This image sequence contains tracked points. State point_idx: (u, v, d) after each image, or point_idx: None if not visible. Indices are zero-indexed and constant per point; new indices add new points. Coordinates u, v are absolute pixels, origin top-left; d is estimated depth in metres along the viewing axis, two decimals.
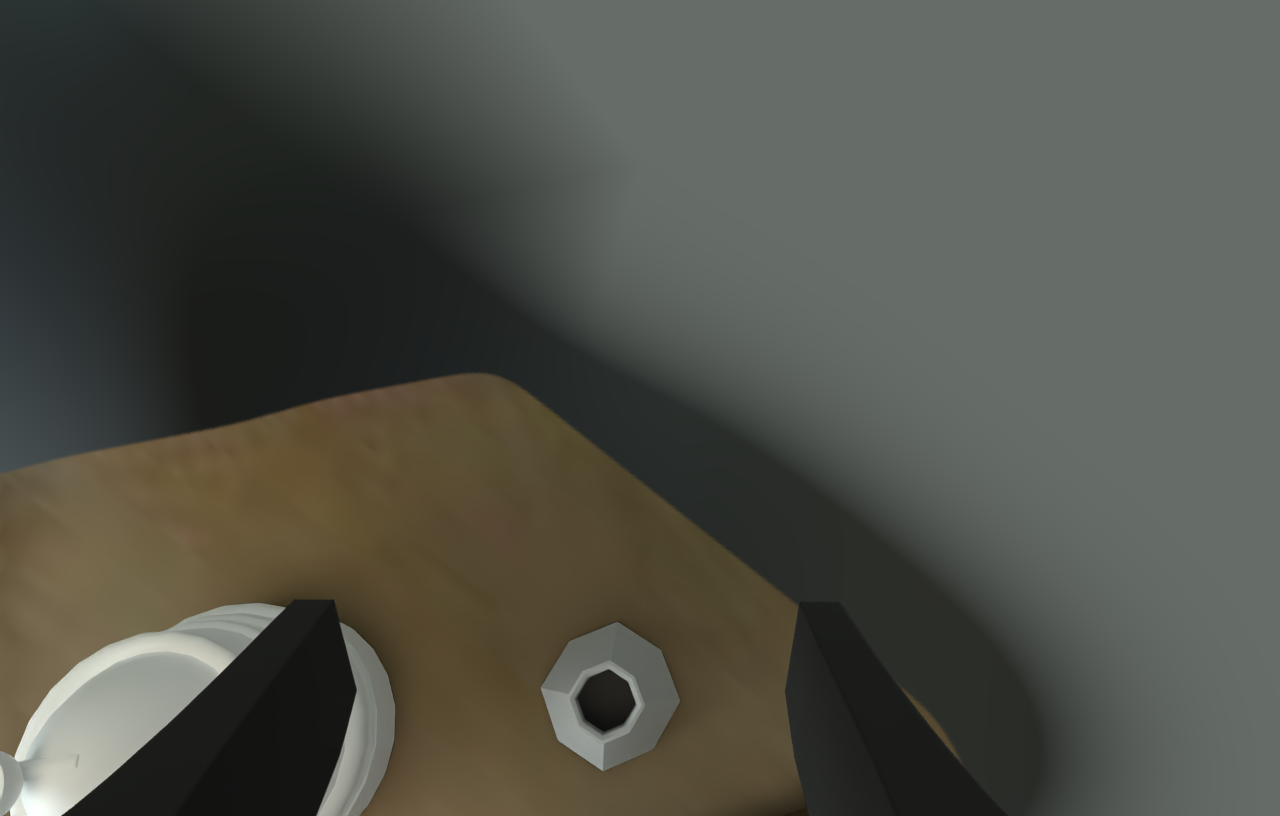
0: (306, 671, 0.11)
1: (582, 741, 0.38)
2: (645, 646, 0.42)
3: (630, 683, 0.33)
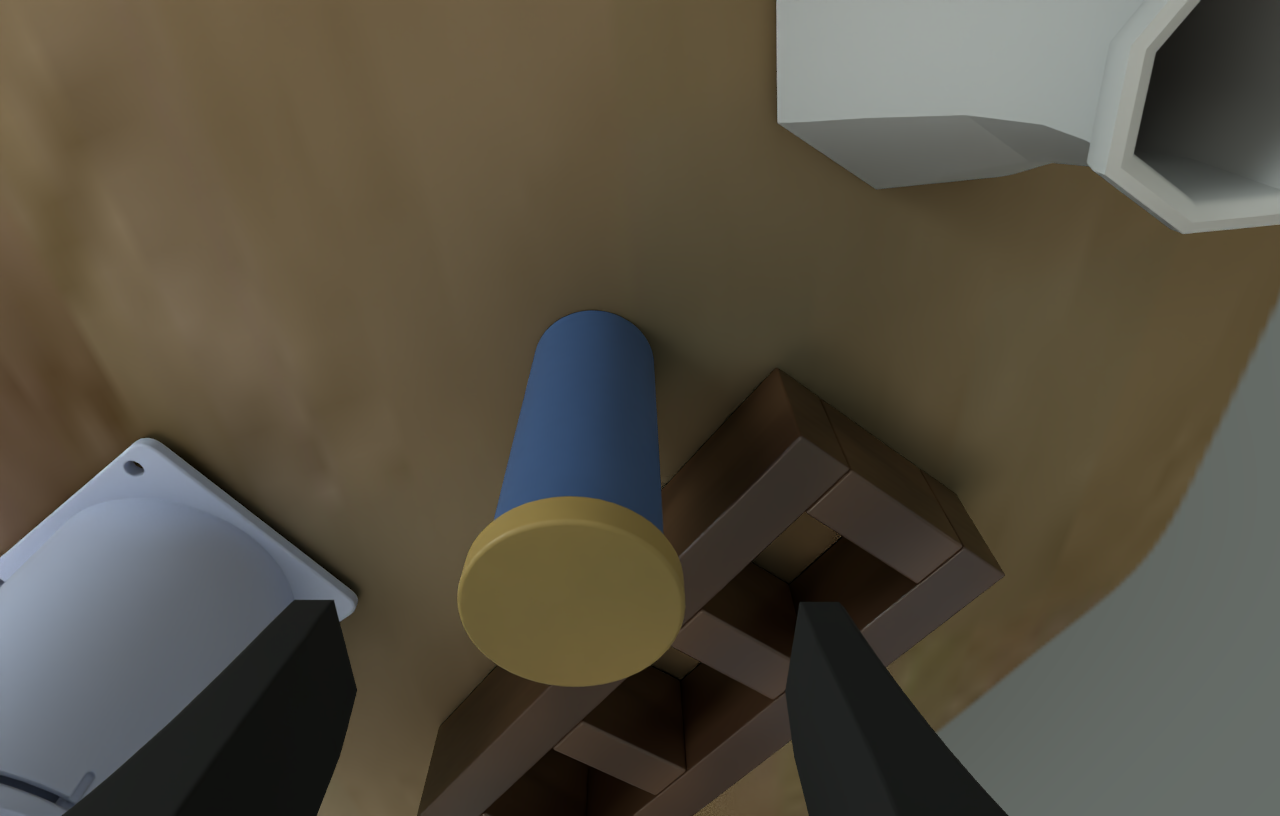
0: (306, 671, 0.11)
1: (852, 46, 0.14)
2: None
3: None
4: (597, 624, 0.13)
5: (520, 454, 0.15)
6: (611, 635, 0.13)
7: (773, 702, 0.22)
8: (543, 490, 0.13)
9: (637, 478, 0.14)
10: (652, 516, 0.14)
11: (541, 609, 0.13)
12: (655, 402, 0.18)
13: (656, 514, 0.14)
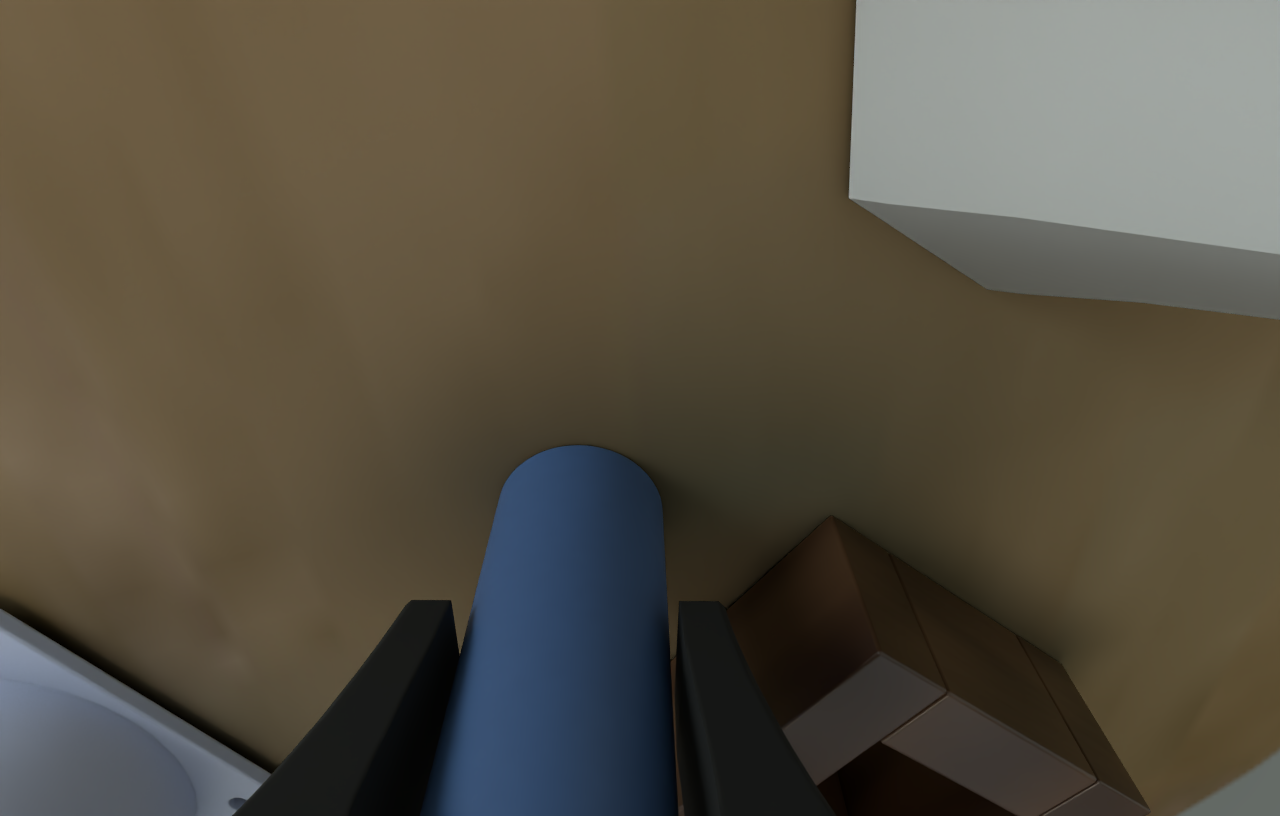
0: (433, 671, 0.11)
1: (1002, 100, 0.08)
2: None
3: None
4: None
5: (453, 747, 0.09)
6: None
7: None
8: None
9: (640, 810, 0.08)
10: None
11: None
12: (665, 593, 0.13)
13: None
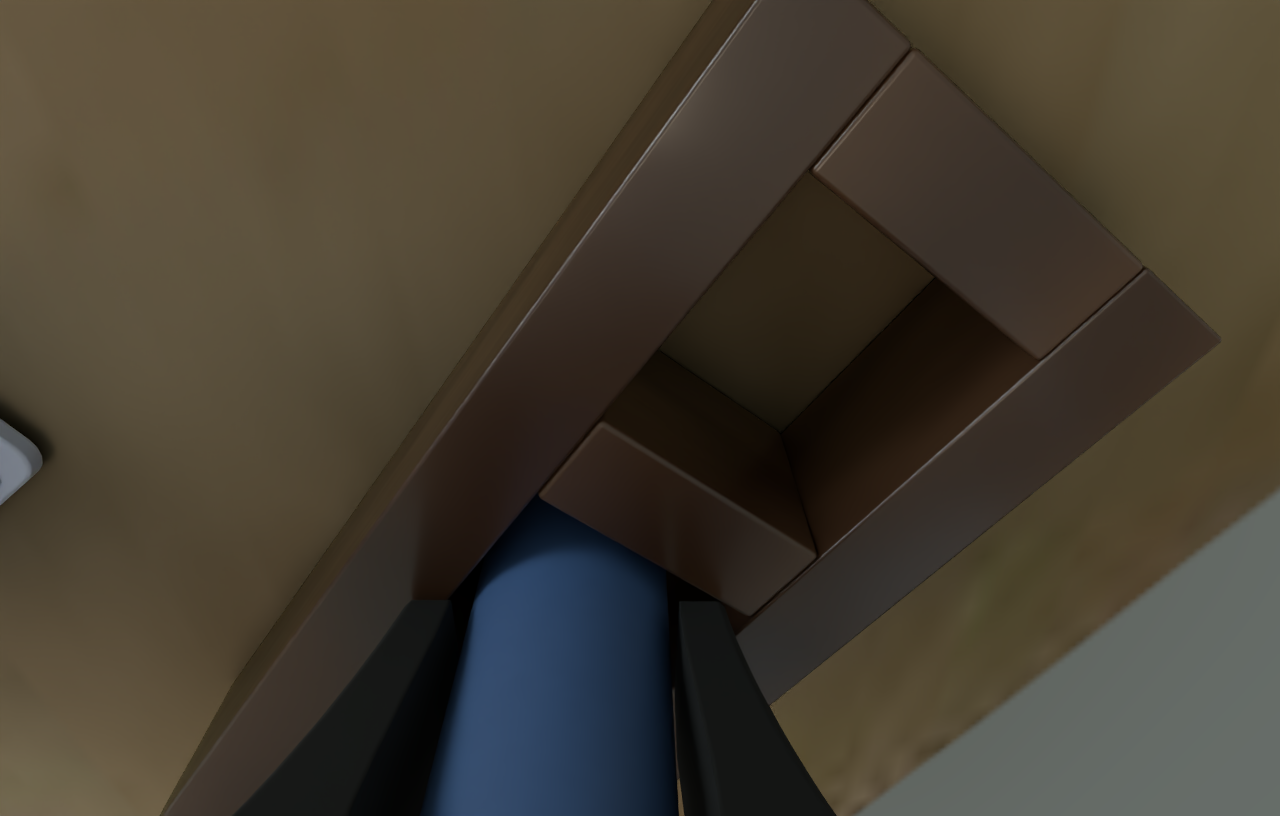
0: (433, 671, 0.11)
1: None
2: None
3: None
4: None
5: (453, 745, 0.09)
6: None
7: (749, 621, 0.12)
8: None
9: (640, 809, 0.08)
10: None
11: None
12: (666, 592, 0.13)
13: None
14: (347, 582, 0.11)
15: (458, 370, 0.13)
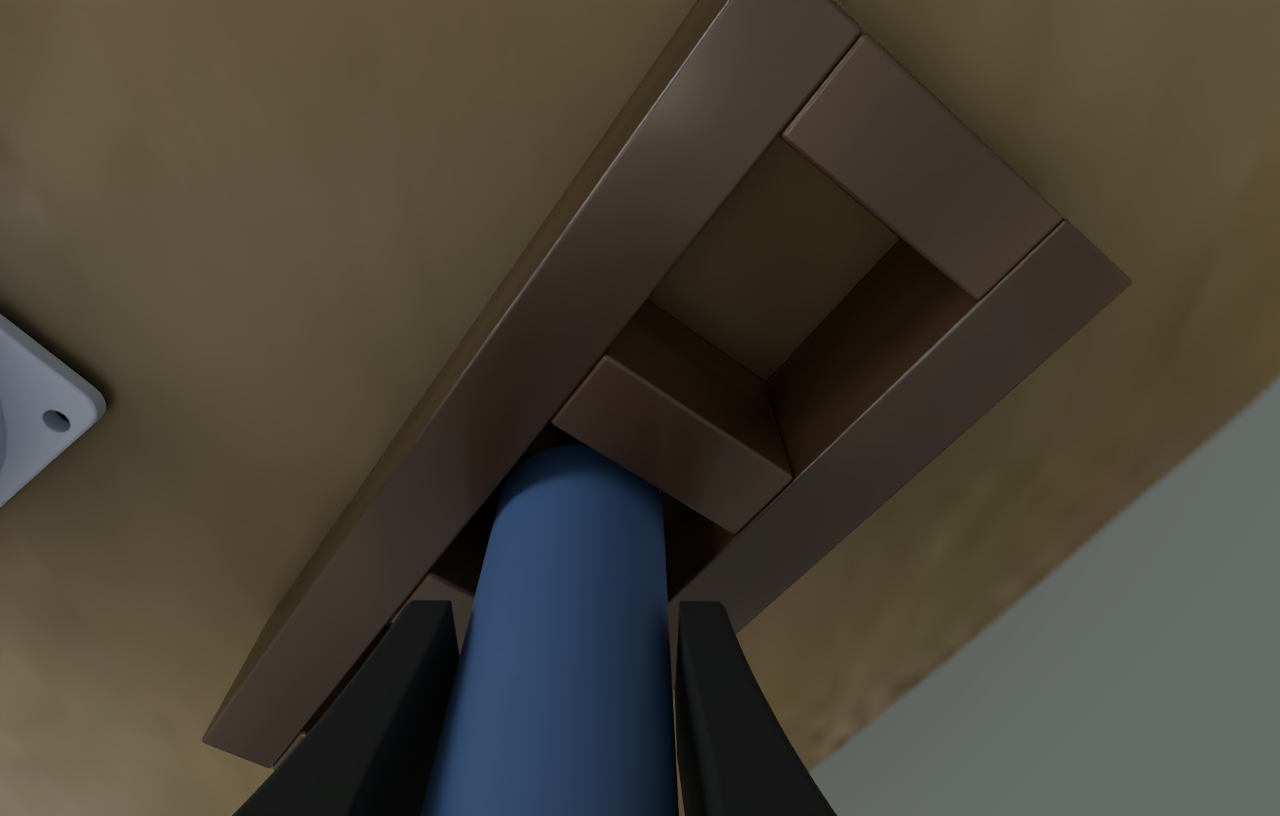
0: (434, 671, 0.11)
1: None
2: None
3: None
4: None
5: (453, 745, 0.09)
6: None
7: (734, 539, 0.14)
8: None
9: (640, 809, 0.08)
10: None
11: None
12: (666, 592, 0.13)
13: None
14: (385, 502, 0.13)
15: (479, 321, 0.14)
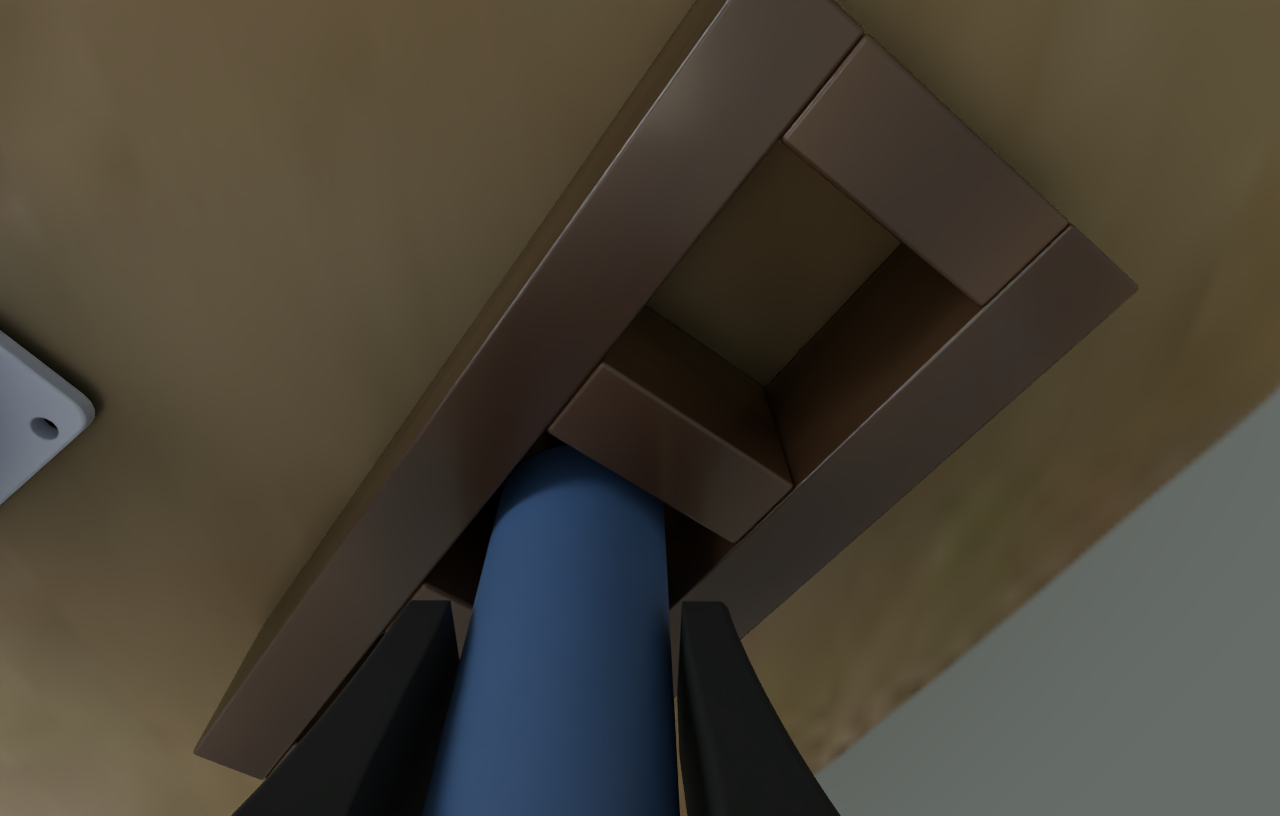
0: (433, 672, 0.11)
1: None
2: None
3: None
4: None
5: (454, 746, 0.09)
6: None
7: (734, 548, 0.13)
8: None
9: (641, 810, 0.08)
10: None
11: None
12: (667, 593, 0.13)
13: None
14: (377, 511, 0.13)
15: (474, 327, 0.14)
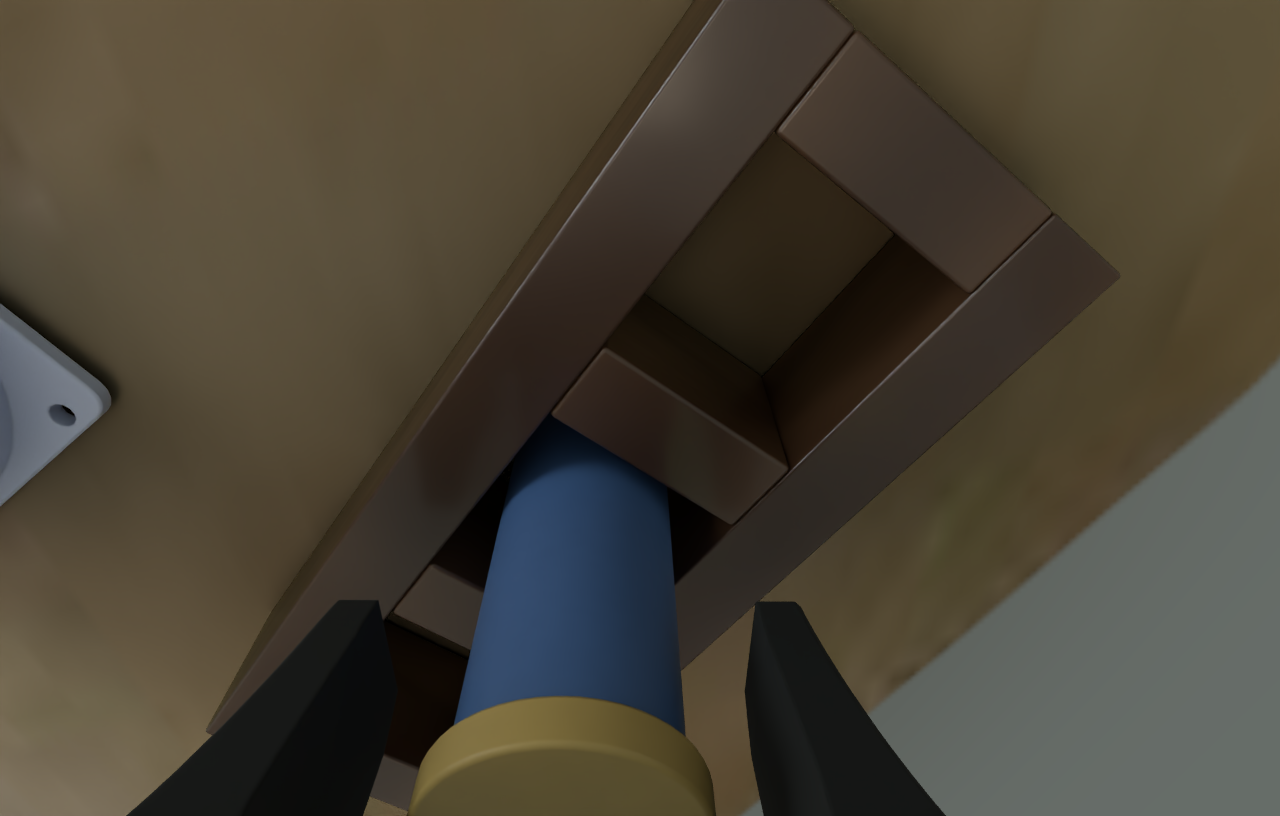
0: (355, 671, 0.11)
1: None
2: None
3: None
4: None
5: (496, 599, 0.11)
6: None
7: (731, 529, 0.14)
8: (522, 672, 0.10)
9: (650, 640, 0.11)
10: (670, 698, 0.10)
11: None
12: (667, 501, 0.15)
13: (674, 690, 0.10)
14: (387, 493, 0.13)
15: (479, 316, 0.15)
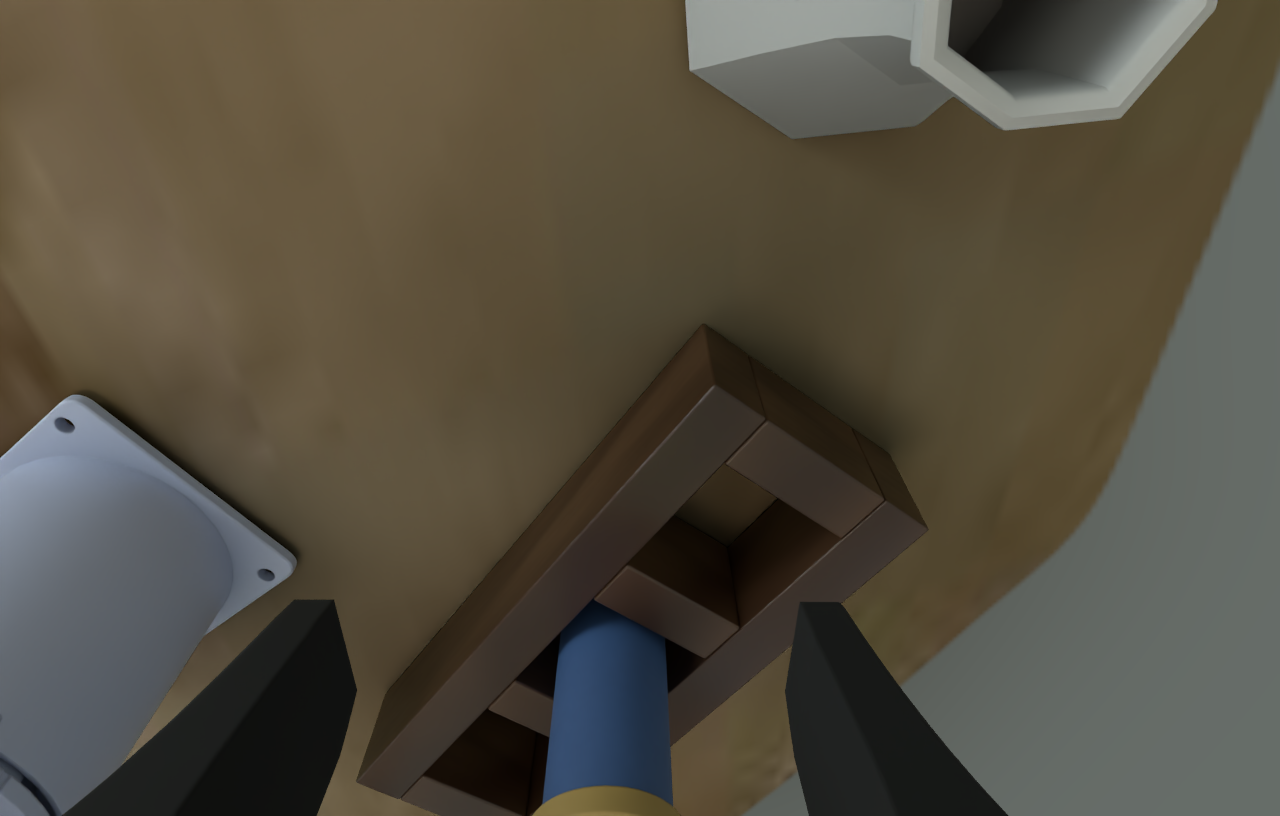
0: (306, 671, 0.11)
1: None
2: None
3: (1180, 13, 0.08)
4: None
5: (564, 718, 0.20)
6: None
7: (704, 661, 0.22)
8: (584, 769, 0.18)
9: (652, 746, 0.19)
10: (664, 781, 0.18)
11: None
12: (664, 638, 0.23)
13: (666, 775, 0.19)
14: (491, 641, 0.22)
15: (544, 520, 0.23)
